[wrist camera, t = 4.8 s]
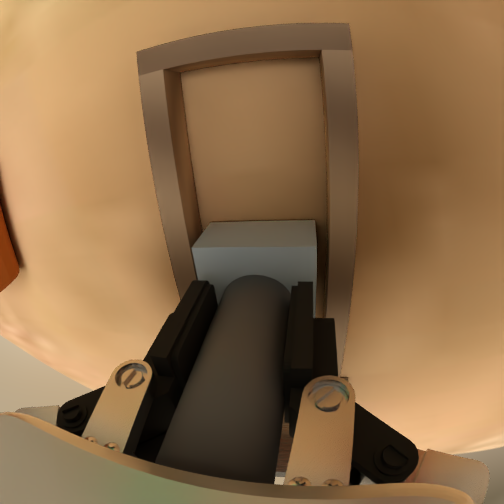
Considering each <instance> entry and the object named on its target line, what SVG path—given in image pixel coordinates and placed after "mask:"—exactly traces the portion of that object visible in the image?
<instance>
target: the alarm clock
mask: <svg viewBox="0 0 504 504" xmlns="http://www.w3.org/2000/svg"><path fill="white" fill-rule="evenodd" d="M18 273H19V265H18V262H17V259H16V256H15V253H14V250H13V247H12V244H11V241H10V237H9V234H8V231H7V227H6V224H5V220H4V216H3V213H2V209H1V205H0V292H1V291H2V290H4V289H5V288H6V287H7V286H8V285H9V284H10V283H11V282H12V281H13V280H14V279H15V278H16V277H17V275H18Z"/></svg>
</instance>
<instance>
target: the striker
mask: <svg viewBox="0 0 504 504" xmlns="http://www.w3.org/2000/svg"><path fill="white" fill-rule="evenodd" d="M192 253H193V258H194V263H195V267H196V272H197V277H198V280H207V281H209V283H210V284H213V285H214V288H215V293H216V298H217V303H218V307H217V310H216V312H215V315H214V317H213V319H212V322H211V324H210V327H209V329H208V332H207V334H206V336H205V339H204V341H203V344H202V346H201V349H200V351H199V354H198V356H197V358H196V361H195V363H194V366H193V368H192V371H191V373H190V376H189V378H188V381H187V383H186V386H185V388H184V390H183V393H182V395H181V398H180V400H179V403H178V405H177V408H176V410H175V413H174V415H173V418H172V420H171V423H170V425H169V428H168V430H167V433H166V435H165V438H164V440H163V443H162V446H161V448H160V451H159V453H158V456H157V458H156V461H155V464H159V465H163V466H166V467H170V468H174V469H178V470H183V471H187V472H192V473H196V474H201V475H207V476H212V477H218V478H224V479H231V480H238V481H245V482H254V483H264V484H274V481H275V475H276V468H277V461H278V454H279V447H280V440H281V432H282V424H283V416H284V408H285V397H284V386H283V364H284V354H285V346H286V337H287V328H288V318H289V308H290V298H291V288H292V286H298V281H313V318H315V310H316V276H317V241H316V227H315V220H284V221H241V222H210V223H209V225H208V226H207V227H206V229H205V230H204V232H203V233H202V234H201V236H200V237H199V238H198V240H197V241H196V242H195V244H194V245H193V246H192Z"/></svg>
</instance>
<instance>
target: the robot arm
mask: <svg viewBox="0 0 504 504" xmlns="http://www.w3.org/2000/svg"><path fill="white" fill-rule="evenodd" d="M217 307H218V303H217V298H216V293H215V288H214V285H213V284H210V283H209V281H207V280H193V281H192V282H191V284H190V286H189V287H188V289H187V291H186V292H185V294H184V296H183V298H182V299H181V301H180V303H179V304H178V306H177V308H176V310H175V311H174V313H171V314H170V315H169V317H168V318H167V320H166V322H165V323H164V325H163V327H162V329H161V330H160V332H159V334H158V335H157V337H156V339H155V341H154V342H153V344H152V346H151V348H150V349H149V351H148V353H147V355H146V357H145V358H144V360H143V361H142V360H129V361H126V362H124V363H122V364H120V365H119V366H118V367H116V368H115V370H114V371H113V373H112V374H111V376H110V378H109V380H108V382H107V384H106V386H104V387H102V388H99V389H97V390H94V391H92V392H90V393H87V394H85V395H82V396H80V397H77V398H75V399H72V400H70V401H68V402H66V403H65V404H64V405H62V407H61V408H60V407H59V405H56V406H44V407H29V408H21V409H18V410H17V411H16V412H0V504H483V501H484V498H485V495H486V491H487V488H488V484H489V478H490V473H489V470H488V467H487V466H486V465H485V464H484V463H482V462H480V461H478V460H473V459H468V458H463V457H458V456H454V455H450V454H446V453H442V452H438V451H434V450H430V449H427V451H423V450H419V449H417V448H416V446H415V444H413V443H412V442H411V441H410V440H409V439H407V438H406V437H404V436H403V435H402V434H400V433H399V432H397V431H396V430H394V429H393V428H391V427H390V426H388V425H387V424H385V423H384V422H383V421H381V420H380V419H378V418H377V417H375V416H374V415H373V414H371V413H370V412H368V411H367V410H366V409H364V408H363V407H361V406H360V405H359V404H357V403H356V402H355V392H354V389H353V387H352V386H351V384H350V383H349V382H347V381H346V380H345V379H343V378H340V377H338V362H337V346H336V332H335V320H334V318H313V281H298V286H292V288H291V298H290V308H289V318H288V328H287V337H286V346H285V354H284V364H283V386H284V397H285V408H284V422H285V423H289V435H290V436H291V437H292V438H293V444H292V449H291V453H290V458H289V462H288V467H287V471H286V475H285V480H284V484H283V485H276V484H264V483H254V482H245V481H238V480H231V479H224V478H218V477H212V476H207V475H201V474H196V473H192V472H187V471H183V470H178V469H174V468H170V467H166V466H163V465H159V464H155V461H156V458H157V456H158V453H159V451H160V448H161V446H162V443H163V440H164V438H165V435H166V433H167V430H168V428H169V425H170V423H171V420H172V418H173V415H174V413H175V410H176V408H177V405H178V403H179V400H180V398H181V395H182V393H183V390H184V388H185V386H186V383H187V381H188V378H189V376H190V373H191V371H192V368H193V366H194V363H195V361H196V358H197V356H198V354H199V351H200V349H201V346H202V344H203V341H204V339H205V336H206V334H207V332H208V329H209V327H210V324H211V322H212V319H213V317H214V315H215V312H216V310H217Z"/></svg>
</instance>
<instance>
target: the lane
mask: <svg viewBox="0 0 504 504" xmlns="http://www.w3.org/2000/svg"><path fill="white" fill-rule="evenodd" d="M309 57H319V60H320V70H321V81H322V93H323V107H324V124H325V144H326V174H327V251H326V282H325V303H324V318H334V320H335V332H336V346H337V362H338V377H340V374H341V368H342V362H343V356H344V350H345V343H346V336H347V329H348V322H349V314H350V305H351V296H352V287H353V277H354V265H355V252H356V237H357V217H358V183H359V150H358V116H357V97H356V83H355V71H354V60H353V51H352V42H351V34H350V27H349V24H345V23H296V24H278V25H266V26H256V27H248V28H240V29H233V30H226V31H220V32H215V33H209V34H204V35H199V36H194V37H190V38H185V39H181V40H177V41H173V42H169V43H165V44H161V45H158V46H154V47H151V48H148V49H144V50H141V51H138V52H137V63H138V74H139V83H140V92H141V101H142V109H143V116H144V124H145V131H146V137H147V144H148V150H149V156H150V162H151V168H152V174H153V179H154V185H155V190H156V195H157V201H158V206H159V211H160V215H161V220H162V225H163V230H164V234H165V239H166V243H167V247H168V252H169V256H170V260H171V264H172V269H173V273H174V277H175V281H176V285H177V288H178V292H179V296H180V300H181V299H182V298H183V296H184V294H185V292H186V291H187V289H188V287H189V286H190V284H191V282H192V281H193V280H198V277H197V272H196V267H195V263H194V258H193V253H192V246H193V245H194V244H195V242H196V241H197V240H198V238H199V237H200V236H201V234H202V228H201V222H200V216H199V210H198V204H197V198H196V191H195V185H194V178H193V171H192V164H191V157H190V150H189V143H188V135H187V128H186V120H185V112H184V103H183V95H182V86H181V77H180V73H181V72H185V71H190V70H196V69H201V68H207V67H212V66H219V65H225V64H233V63H240V62H249V61H259V60H270V59H284V58H309Z"/></svg>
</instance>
